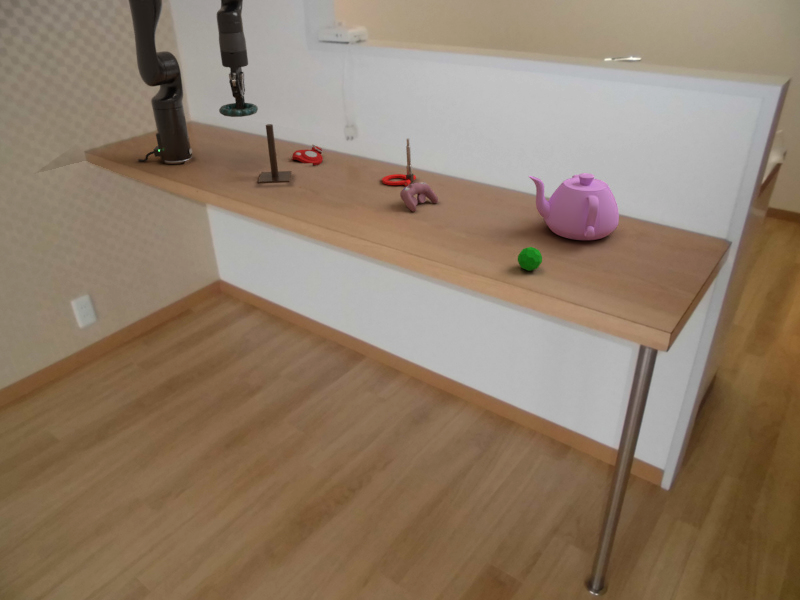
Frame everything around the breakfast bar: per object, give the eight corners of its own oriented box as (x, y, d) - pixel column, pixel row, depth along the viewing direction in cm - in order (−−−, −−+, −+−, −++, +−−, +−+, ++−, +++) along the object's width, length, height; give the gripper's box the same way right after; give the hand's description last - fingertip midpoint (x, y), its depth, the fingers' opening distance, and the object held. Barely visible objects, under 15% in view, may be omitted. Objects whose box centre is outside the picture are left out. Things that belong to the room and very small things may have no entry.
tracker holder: (324, 162, 194) (292, 156, 192) (322, 174, 197) (290, 168, 195) (324, 143, 203) (294, 137, 201) (322, 155, 206) (292, 149, 204)
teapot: (517, 213, 157) (522, 160, 151) (603, 213, 157) (611, 160, 150) (530, 249, 138) (536, 191, 131) (628, 250, 137) (639, 190, 131)
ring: (217, 117, 179) (216, 110, 178) (223, 109, 188) (222, 102, 187) (255, 117, 179) (254, 110, 178) (259, 108, 189) (259, 101, 188)
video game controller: (429, 205, 168) (421, 180, 166) (440, 201, 164) (432, 176, 163) (403, 215, 162) (394, 189, 160) (414, 211, 158) (405, 185, 157)
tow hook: (377, 185, 179) (407, 187, 175) (374, 141, 173) (405, 142, 169) (389, 177, 186) (417, 179, 182) (386, 134, 179) (415, 135, 176)
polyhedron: (512, 269, 130) (514, 248, 128) (525, 261, 133) (527, 241, 131) (532, 276, 127) (534, 255, 125) (545, 269, 130) (547, 248, 127)
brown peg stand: (258, 186, 178) (251, 129, 170) (262, 176, 186) (255, 121, 178) (289, 185, 179) (283, 128, 171) (292, 175, 187) (286, 120, 178)
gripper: (224, 45, 185) (232, 104, 193) (216, 52, 173) (225, 115, 181) (249, 45, 185) (256, 104, 194) (243, 51, 173) (250, 114, 182)
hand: (241, 109), depth 187 cm, fingers closed on ring, 2 cm apart
